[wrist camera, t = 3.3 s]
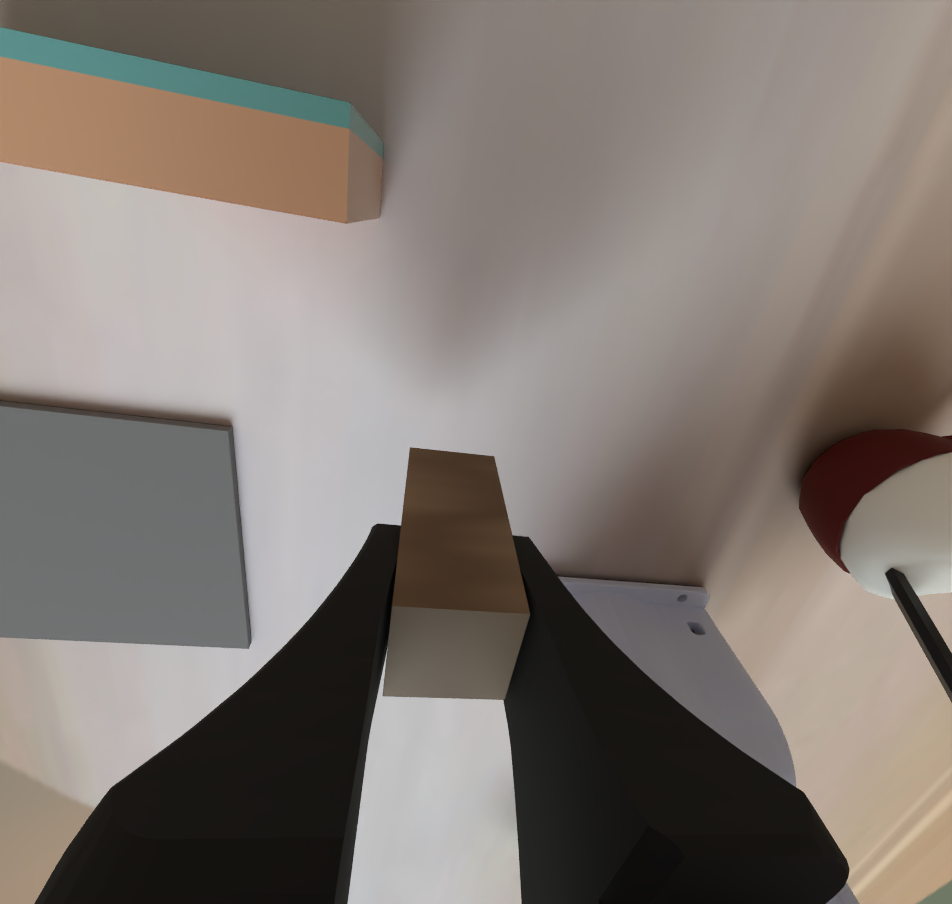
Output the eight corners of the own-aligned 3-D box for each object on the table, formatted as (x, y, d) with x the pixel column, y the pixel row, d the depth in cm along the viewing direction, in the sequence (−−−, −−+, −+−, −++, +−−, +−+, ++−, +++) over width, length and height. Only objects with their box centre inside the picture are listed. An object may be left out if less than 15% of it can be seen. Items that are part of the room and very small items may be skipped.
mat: (231, 426, 17) (228, 431, 17) (251, 641, 23) (248, 648, 22) (-139, 385, 16) (-152, 389, 15) (-22, 628, 21) (-29, 635, 21)
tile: (384, 143, 14) (350, 102, 8) (380, 218, 14) (346, 223, 9) (6, 66, 12) (-327, -44, 7) (27, 153, 13) (-252, 117, 8)
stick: (494, 456, 14) (530, 613, 8) (480, 523, 15) (504, 699, 9) (410, 447, 13) (392, 606, 8) (402, 517, 14) (382, 695, 9)
